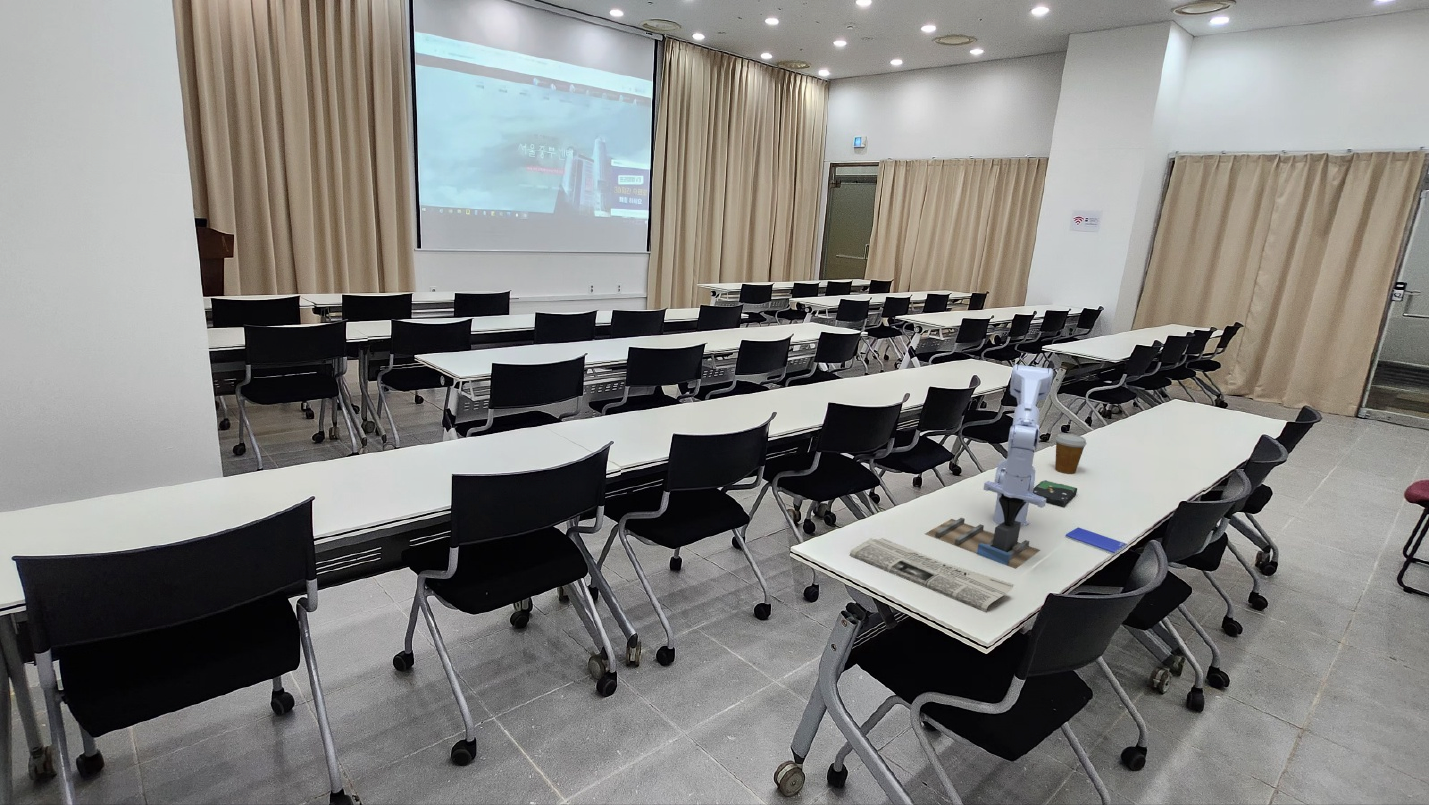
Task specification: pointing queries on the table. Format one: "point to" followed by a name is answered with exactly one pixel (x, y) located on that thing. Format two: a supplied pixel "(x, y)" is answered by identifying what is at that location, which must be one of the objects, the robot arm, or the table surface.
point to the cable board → (981, 542)
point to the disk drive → (1055, 493)
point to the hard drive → (1096, 541)
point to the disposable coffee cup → (1068, 452)
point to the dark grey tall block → (1006, 536)
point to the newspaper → (932, 573)
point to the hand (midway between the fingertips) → (1008, 525)
